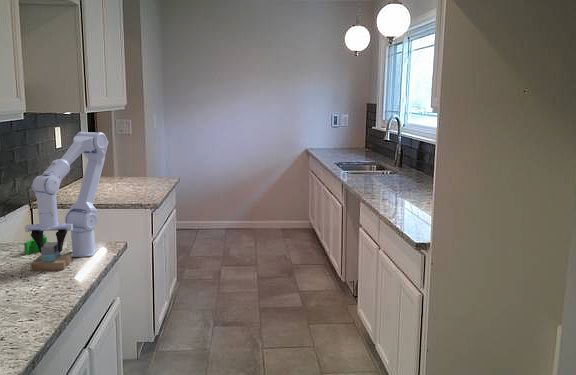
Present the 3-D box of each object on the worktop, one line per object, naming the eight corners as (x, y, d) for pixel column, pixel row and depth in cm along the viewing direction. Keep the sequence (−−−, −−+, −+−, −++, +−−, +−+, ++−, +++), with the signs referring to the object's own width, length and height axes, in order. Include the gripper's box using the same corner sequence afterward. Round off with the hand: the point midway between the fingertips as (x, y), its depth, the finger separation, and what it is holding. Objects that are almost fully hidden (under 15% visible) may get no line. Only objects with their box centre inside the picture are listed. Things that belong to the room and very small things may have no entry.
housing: (47, 256, 178) (46, 242, 177) (60, 256, 179) (59, 241, 178) (42, 262, 172) (40, 247, 171) (54, 261, 173) (53, 247, 172)
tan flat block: (41, 262, 180) (40, 255, 180) (71, 261, 181) (71, 254, 181) (31, 271, 171) (31, 263, 171) (64, 269, 173) (63, 262, 172)
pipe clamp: (34, 255, 188) (33, 243, 187) (25, 255, 189) (23, 242, 188) (52, 246, 199) (51, 234, 198) (43, 245, 199) (41, 234, 199)
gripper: (20, 215, 168) (23, 256, 171) (67, 214, 170) (70, 254, 172) (27, 210, 175) (31, 249, 178) (73, 209, 177) (76, 248, 179)
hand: (51, 251), depth 175 cm, fingers open, 5 cm apart
